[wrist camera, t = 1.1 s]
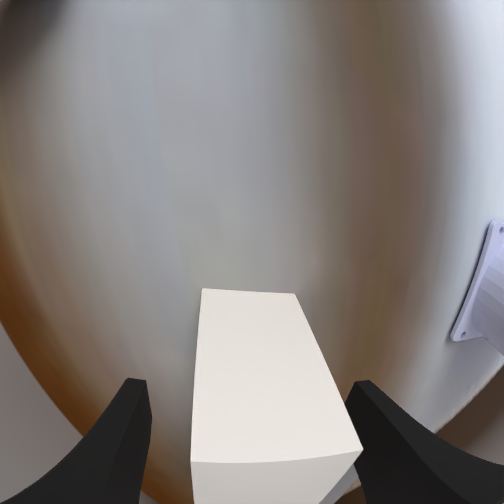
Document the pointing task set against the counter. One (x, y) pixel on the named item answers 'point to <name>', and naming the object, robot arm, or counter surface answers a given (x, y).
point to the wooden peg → (264, 405)
